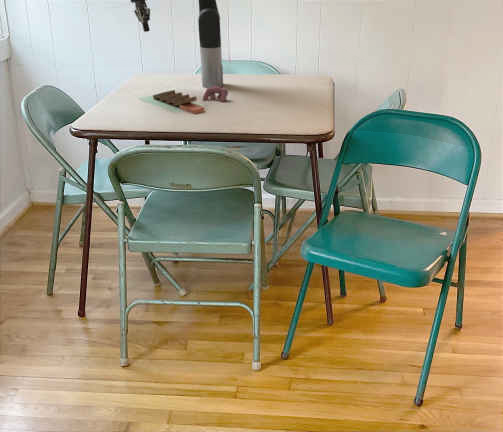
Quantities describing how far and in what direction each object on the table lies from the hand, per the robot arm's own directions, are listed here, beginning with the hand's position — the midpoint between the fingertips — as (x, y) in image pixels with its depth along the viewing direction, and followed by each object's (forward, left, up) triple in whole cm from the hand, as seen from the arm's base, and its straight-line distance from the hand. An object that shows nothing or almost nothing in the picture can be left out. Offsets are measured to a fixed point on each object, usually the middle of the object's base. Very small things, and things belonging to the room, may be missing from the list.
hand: (146, 31), depth 275 cm
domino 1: (-3, +22, -23) cm, 32 cm away
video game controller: (-26, +30, -25) cm, 47 cm away
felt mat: (-7, +30, -24) cm, 39 cm away
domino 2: (-5, +26, -23) cm, 35 cm away
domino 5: (-13, +39, -23) cm, 47 cm away
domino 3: (-8, +31, -23) cm, 39 cm away
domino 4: (-10, +35, -23) cm, 43 cm away
